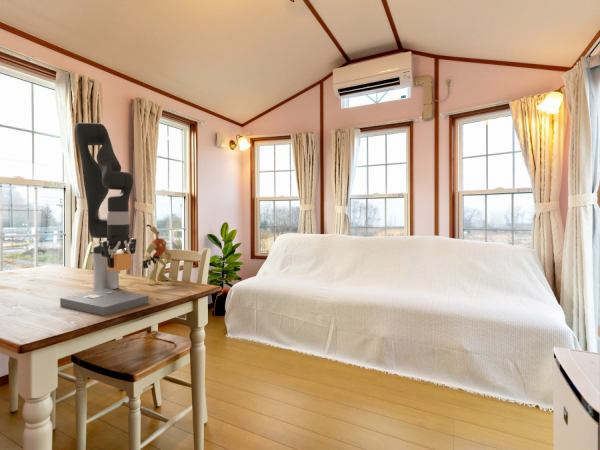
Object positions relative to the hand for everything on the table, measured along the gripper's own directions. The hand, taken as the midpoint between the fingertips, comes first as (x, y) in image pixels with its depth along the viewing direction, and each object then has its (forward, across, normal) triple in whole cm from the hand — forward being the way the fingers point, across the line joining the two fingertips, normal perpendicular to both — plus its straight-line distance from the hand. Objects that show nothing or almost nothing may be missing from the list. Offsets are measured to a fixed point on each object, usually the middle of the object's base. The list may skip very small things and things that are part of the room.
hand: (119, 266), depth 125 cm
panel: (+15, +3, -5) cm, 16 cm away
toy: (+16, -34, -19) cm, 42 cm away
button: (+15, +4, -8) cm, 17 cm away
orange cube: (+1, 0, 0) cm, 1 cm away
